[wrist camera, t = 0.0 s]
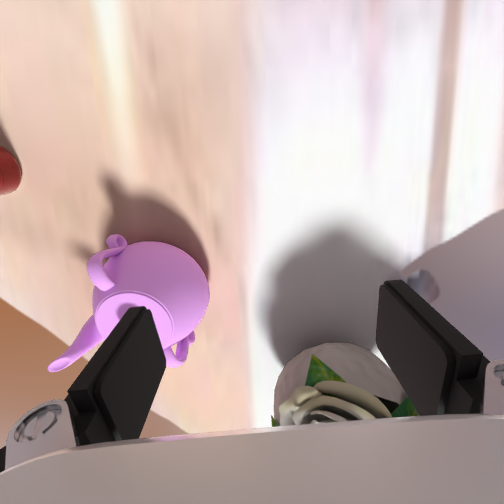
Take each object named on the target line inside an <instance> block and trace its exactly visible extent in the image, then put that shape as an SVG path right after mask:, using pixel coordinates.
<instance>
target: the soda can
mask: <svg viewBox="0 0 504 504" xmlns="http://www.w3.org/2000/svg"><path fill="white" fill-rule="evenodd" d="M20 182H21V170H20V167H19V165H18V163H17V161H16V159H15V158H14V157H13V156H12V154H11V153H10V152H8V151H7V150H6V149H5V148H3V147H2V146H0V195H5V194H9V193H12V192H13V191H15V190H16V189H17V188H18V187H19V185H20Z"/></svg>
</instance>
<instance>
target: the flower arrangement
mask: <svg viewBox="0 0 504 504" xmlns="http://www.w3.org/2000/svg"><path fill="white" fill-rule="evenodd" d="M411 416H419V413H418V412H417V410H416V409H415V407H414V405H413V404H412V402H411V401H410V399H409V397H408V396H407V394H406V392H405V391H404V389H403V388H402V386H401V384H400V383H399V381H398V380H397V378H396V376H395V375H394V373H393V371H392V370H391V369H390V368H389V367H388V366H387V365H386V364H385V363H384V362H383V361H382V360H380V359H379V358H378V357H377V356H376V355H374V354H373V353H372V352H370V351H369V350H368V349H365V348H362V347H359V346H356V345H354V344H351V343H323V344H320V345H317V346H314V347H311V348H308V349H305V350H303V351H302V352H300V353H299V354H298V355H296V356H295V357H293V358H292V359H291V360H289V361H288V362H287V364H286V365H285V367H284V369H283V370H282V372H281V374H280V375H279V377H278V380H277V384H276V387H275V393H274V418H273V417H272V415H271V418H272V427H279V426H291V425H303V424H316V423H329V422H342V421H355V420H368V419H381V418H395V417H411Z"/></svg>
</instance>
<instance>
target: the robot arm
mask: <svg viewBox="0 0 504 504" xmlns="http://www.w3.org/2000/svg"><path fill="white" fill-rule="evenodd" d="M376 344H377V347H378V349H379V350H380V352H381V354H382V355H383V357H384V359H385V360H386V362H387V363H388V365H389V367H390V368H391V370H392V371H393V373H394V375H395V376H396V378H397V380H398V381H399V383H400V384H401V386H402V388H403V389H404V391H405V392H406V394H407V396H408V397H409V399H410V401H411V402H412V404H413V405H414V407H415V409H416V410H417V412H418V413H419V415H420V416H411V417H395V418H381V419H368V420H355V421H342V422H329V423H316V424H303V425H291V426H279V427H266V428H254V429H242V430H230V431H219V432H207V433H196V434H185V435H173V436H162V437H150V438H141V439H139V436H140V434H141V431H142V429H143V426H144V423H145V421H146V418H147V415H148V413H149V410H150V408H151V405H152V402H153V400H154V397H155V395H156V392H157V389H158V387H159V384H160V381H161V379H162V376H163V374H164V371H165V368H166V357H165V354H164V351H163V348H162V344H161V341H160V338H159V335H158V332H157V328H156V325H155V322H154V319H153V316H152V312H151V310H150V309H147V308H146V307H145V306H139V307H130V308H129V309H128V310H127V311H126V313H125V314H124V315H123V317H122V318H121V319H120V321H119V322H118V323H117V325H116V326H115V327H114V329H113V330H112V331H111V333H110V334H109V336H108V337H107V338H106V340H105V341H104V342H103V344H102V345H101V346H100V348H99V349H98V350H97V352H96V353H95V354H94V356H93V357H92V358H91V360H90V361H89V362H88V364H87V365H86V367H85V368H84V369H83V371H82V372H81V373H80V375H79V376H78V377H77V379H76V380H75V381H74V383H73V384H72V385H71V387H70V388H69V389H68V393H69V394H68V396H67V397H66V398H65V400H64V401H63V400H51V401H47V402H45V403H43V404H40V405H38V406H36V407H35V408H33V409H32V410H30V411H28V412H27V413H26V414H25V415H24V416H22V417H21V418H20V419H19V420H18V421H17V422H16V423H15V425H14V426H13V427H12V429H11V430H10V432H9V434H8V437H7V442H6V446H5V447H3V448H1V449H0V504H504V360H496V361H492V362H490V361H489V360H488V359H486V358H485V357H484V356H483V353H482V352H481V351H480V350H479V349H478V348H477V347H476V346H475V345H473V344H472V343H471V342H470V341H469V340H468V339H467V338H466V337H465V336H464V335H462V334H461V333H460V332H459V331H458V330H457V329H456V328H455V327H454V326H452V325H451V324H450V323H449V322H448V321H447V320H446V319H445V318H444V317H442V316H441V315H440V314H439V313H438V312H437V311H436V310H435V309H434V308H433V307H431V306H430V305H429V304H428V303H427V302H426V301H425V300H424V299H423V298H422V297H420V296H419V295H418V294H417V293H416V292H415V291H414V290H413V289H412V288H410V287H409V286H408V285H407V284H406V283H405V282H404V281H403V280H391V281H385V282H384V285H381V286H380V289H379V303H378V316H377V329H376Z"/></svg>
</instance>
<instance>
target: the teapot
mask: <svg viewBox="0 0 504 504" xmlns="http://www.w3.org/2000/svg"><path fill="white" fill-rule="evenodd" d="M106 243H107V245H108V247H109V248H110V249H106V250H103V251H100V252H98V253H96V254H94V255H93V256H92V257H91V258H90V259H89V261H88V263H87V271H88V275H89V277H90V279H91V281H92V282H93V283H94V284H95V286H94V290H93V313H94V314H93V315H92V316H91V317H90V318H89V319H88V321H87V322H86V323H85V325H84V326H83V328H82V329H81V331H80V333H79V334H78V336H77V338H76V339H75V341H74V342H73V344H72V345H71V346H70V347H69V348H68V349H67V350H66V351H65V352H64V353H63V354H62V355H61V356H59V357H58V358H57V359H55V360H54V361H53V362H52V363H51V364H50V365H49V367H48V371H50V372H56V371H59V370H62V369H64V368H66V367H67V366H69V365H70V364H72V363H73V362H74V361H76V360H77V359H78V358H80V357H81V356H82V355H84V354H85V353H86V352H88V351H89V350H90V349H92V348H93V347H94V346H96V345H97V344H99V343H100V342H102V341H103V340H106V338H107V337H108V336H109V334H110V333H111V331H112V330H113V329H114V327H115V326H116V325H117V323H118V322H119V321H120V319H121V318H122V317H123V315H124V314H125V313H126V311H127V310H128V309H129V308H130V307H139V306H145V307H146V308H147V309H150V310H151V312H152V316H153V319H154V322H155V325H156V328H157V332H158V335H159V338H160V341H161V344H162V348H163V351H164V354H165V357H166V366H168V367H172V368H173V367H178V366H180V365H182V364H183V363H184V362H185V360H186V358H187V354H188V346H189V345H191V344H192V343H193V342H194V341H195V334H194V331H193V330H194V329H195V328H196V326H197V325H198V324H199V322H200V321H201V319H202V318H203V316H204V314H205V312H206V309H207V306H208V303H209V295H210V292H209V285H208V281H207V279H206V276H205V274H204V272H203V271H202V269H201V267H200V266H199V265H198V263H197V262H196V261H195V260H194V259H193V258H192V257H191V256H190V255H188V254H187V253H186V252H184V251H182V250H181V249H179V248H177V247H175V246H172V245H169V244H166V243H162V242H154V241H146V242H138V243H134V244H130V245H128V243H127V241H126V239H125V238H124V237H123V236H121V235H119V234H113V235H111V236H109V237H108V238H107V240H106ZM107 257H110V258H109V259H108V261H107V262H106V263H105V264H104V266H103V265H102V260H103V259H104V258H107ZM176 343H177V349H176V355H174V353H173V351H172V349H171V346H172V345H174V344H176Z"/></svg>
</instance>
